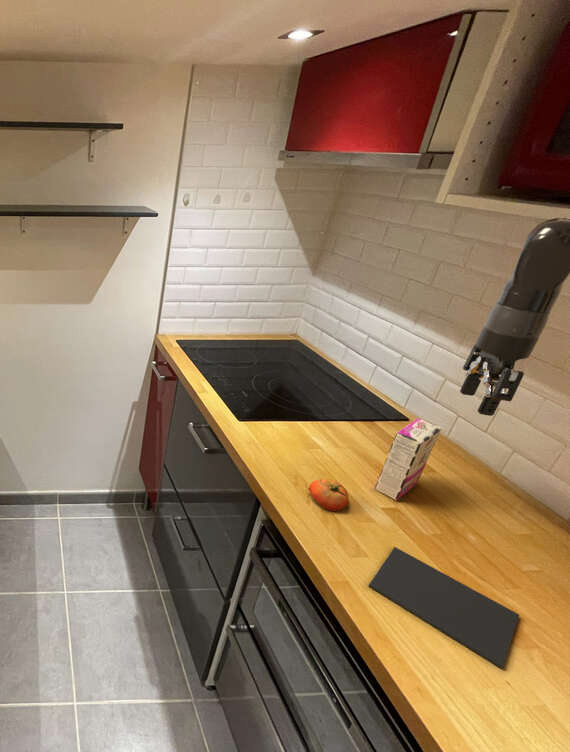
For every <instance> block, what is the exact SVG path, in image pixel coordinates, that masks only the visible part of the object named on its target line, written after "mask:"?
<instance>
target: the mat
mask: <svg viewBox="0 0 570 752" xmlns="http://www.w3.org/2000/svg"><path fill="white" fill-rule="evenodd" d="M368 588H370V589H372V590H373V591H375V592H376V593H378V594H380V595H381V596H383V597H384V598H386V599H388V600H390V601H391V602H393V603H394V604H396V605H397V606H399V607H401V608H402V609H404V610H406V611H407V612H409V614H412V615H413V616H415V617H417V618H418V619H420V620H421V621H423V622H425V623H427V624H428V625H429V626H431V627H433V628H434V629H436V630H438V631H439V632H441V633H443V634H444V635H446V636H447V637H449V638H450V639H452V640H454V641H456V642H457V643H458V644H460V645H462V646H464V647H465V648H467V649H469V650H470V651H471V652H473V653H474V654H476V655H477V656H479V657H481V658H483V659H484V660H486V661H488V662H489V663H491V664H492V665H494V666H496V667H498V668H499V669H500V670H503V668H504V666H505V664H506V660H507V657H508V654H509V650H510V646H511V644H512V641H513V637H514V633H515V631H516V627H517V623H518V620H519V617H520V614H519V613H518V612H515V611H514V610H512V609H510V608H508V607H506V606H505V605H503V604H500V603H499V602H497V601H495V600H493V599H491V598H490V597H488V596H486V595H484V594H483V593H481V592H479V591H477V590H475V589H473V588H471V587H469V586H467V585H466V584H464V583H462V582H461V581H458V580H456V579H455V578H453V577H452V576H449V575H447V574H445V573H444V572H442V571H440V570H438V569H437V568H435V567H433V566H431V565H429V564H428V563H426V562H424V561H422V560H419V559H418V558H416V557H414V556H413V555H411V554H409V553H407V552H405V551H403V550H402V549H400V548H398V547H397V546H394V547H393V548H392V550H391V552H390V553H389V554H388V556H387V557H386V558H385V560H384V562H383V563H382V565H381V566H380V568H379V569H378V571H377V572H376V573H375V575H374V577H373V578H372V579H371V580H370V582H369V584H368Z"/></svg>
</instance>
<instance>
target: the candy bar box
mask: <svg viewBox="0 0 570 752" xmlns="http://www.w3.org/2000/svg"><path fill="white" fill-rule="evenodd" d="M442 429H443V428H442V426H439V425H436V424H434V423H431V422H430V421H426V420H424V419H422V418H416V419H414V420H413V421H411V422H410V423H409V424H407V425H406V426H404V427H402V428H401V429H399V430H398V431H396V432H395V435H394V438H393V441H392V443H391V446H390V448H389V450H388V453H387V456H386V459H385V461H384V464H383V466H382V468H381V471H380V473H379V476H378V479H377V481H376V484H375V487H374V490H376V491H377V492H378V493H380V494H382V495H384V496H386V497H388V498H389V499H391V500H394V501H396V502H397V501H398V500H399V499H401V498H402V497H404V496H405V494H407V493H408V492H409V491H410V490H411V489H413V488H414V487H415V486H417V485H418V483H419V480H420V478H421V476H422V473H423V471H424V469H425V467H426V465H427V463H428V460H429V457H430V455H431V453H432V451H433V449H434V447H435V444H436V442H437V441H438V437H439V435H440V433H441V431H442Z"/></svg>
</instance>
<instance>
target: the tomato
mask: <svg viewBox="0 0 570 752" xmlns="http://www.w3.org/2000/svg"><path fill="white" fill-rule="evenodd" d="M307 490H308V491H309V493H310V495H311V496H312V498H313V499H315V501H316V503H318V504H319V505H321V506H322V507H323V508H324V509H325V510H326V511H328V512H336V511H340V510H342V509H345V508H346V507H347V506H348V505H349V504H350V501H349V494H348V490H347V489H346V488H345V486H344V485H342V484H341V483H340V482H338V481H336V480H334V479H325V478H322V479H320V478H319V479H317V480H314V481H312V482H311V483H310V485H309V487H308V488H307Z"/></svg>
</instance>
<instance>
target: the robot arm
mask: <svg viewBox="0 0 570 752" xmlns="http://www.w3.org/2000/svg"><path fill="white" fill-rule="evenodd" d="M569 276H570V219H567V218H560V217H555V218H550V219H547V220H545V221H542V222H540V223H538V224H537V225H536V226H534V227H533V228H532V229H531V230H530V232H529V233H528V234H527V236H526V238H525V241H524V244H523V246H522V249H521V250H520V254H519V256H518V258H517V261H516V263H515V266H514V269H513V271H512V274H511V275H510V277H509V278H508V279H507V280H506V282H505V284H504V286H503V288H502V290H501V293H500V294H499V296H498V298H497V301H496V302H495V304H494V306H493V308H492V309H491V311H490V312H489V314H488V315H487V318H486V321H485V322H484V325H483V327H482V329H481V331H480V333H479V335H478V337H477V340H476V342H475V344H473V346H472V349H471V350H470V353H469V354H468V357H467V359H466V361H465V362H464V364H463V366H462V370H463V371H465V374H464V376H465V379H464V381H463V384H462V385H461V388H460V389H459V392H460V394H462V395H465V396H470V397H473V396H475V395H476V392H477V391H478V388H479V386H480V384H481V382H482V384H483V386H485V395H484V396H483V399H482V400H481V403H480V404H479V407H478V409H477V412H478V414H479V415H484V416H489V417H491V416H494V415H495V413H496V411H497V409H498V407H499V405H500V404H501V401H505V402H511V401H512V400H513V398H514V396H515V394H516V392H517V390H518V388H519V386H520V384H521V382H522V380H523V378H524V376H525V373H524V371H523V370H522V371H521V370H516V369H515V365H516V362H518V361H519V360H525V359H528V358H529V357H530V356H531V354H532V352H533V351H534V349H535V347H536V345H537V343H538V341H539V339H540V338H541V335H542V334H543V332H544V330H545V327H546V326H547V323H548V320H549V317H550V314H551V311H553V308H554V306H555V304H556V303H557V300H558V298H559V296H560V295H561V292H562V290H563V287H564V284H565V281H566V280H567V279H568V277H569ZM481 379H483V381H482V380H481Z"/></svg>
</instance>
